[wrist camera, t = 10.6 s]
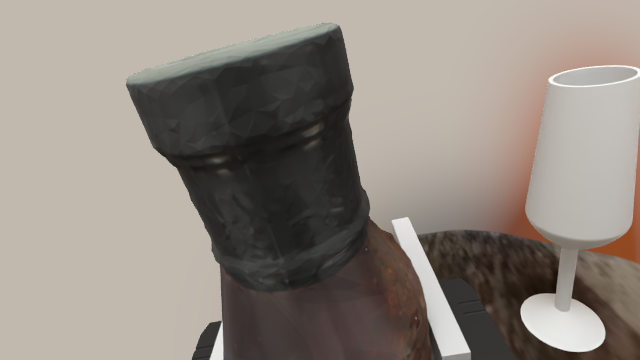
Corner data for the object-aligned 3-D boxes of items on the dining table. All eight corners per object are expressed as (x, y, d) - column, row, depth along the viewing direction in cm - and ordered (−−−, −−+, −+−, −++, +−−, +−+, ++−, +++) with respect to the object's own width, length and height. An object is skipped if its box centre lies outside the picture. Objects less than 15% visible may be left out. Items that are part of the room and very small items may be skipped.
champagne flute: (611, 311, 31) (672, 56, 20) (597, 367, 27) (662, 90, 16) (531, 284, 35) (546, 66, 25) (510, 327, 32) (517, 93, 21)
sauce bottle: (305, 436, 18) (129, 73, 9) (409, 395, 18) (336, 17, 10) (335, 634, 12) (-98, 127, 3) (487, 564, 12) (480, -26, 4)
